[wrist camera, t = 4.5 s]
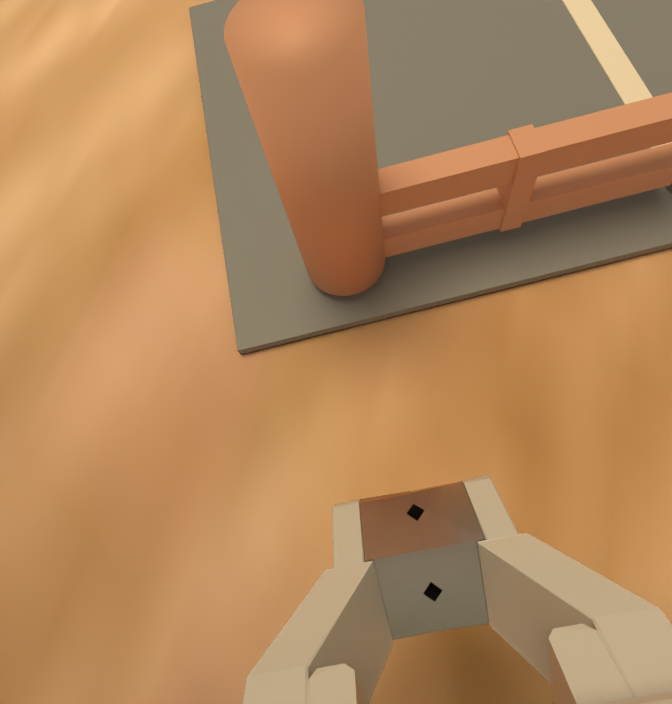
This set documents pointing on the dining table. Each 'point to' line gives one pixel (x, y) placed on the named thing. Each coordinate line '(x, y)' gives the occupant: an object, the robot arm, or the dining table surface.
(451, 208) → the hinged fence section
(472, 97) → the board
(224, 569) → the dining table surface
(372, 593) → the robot arm
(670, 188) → the fixed fence section
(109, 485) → the dining table surface
